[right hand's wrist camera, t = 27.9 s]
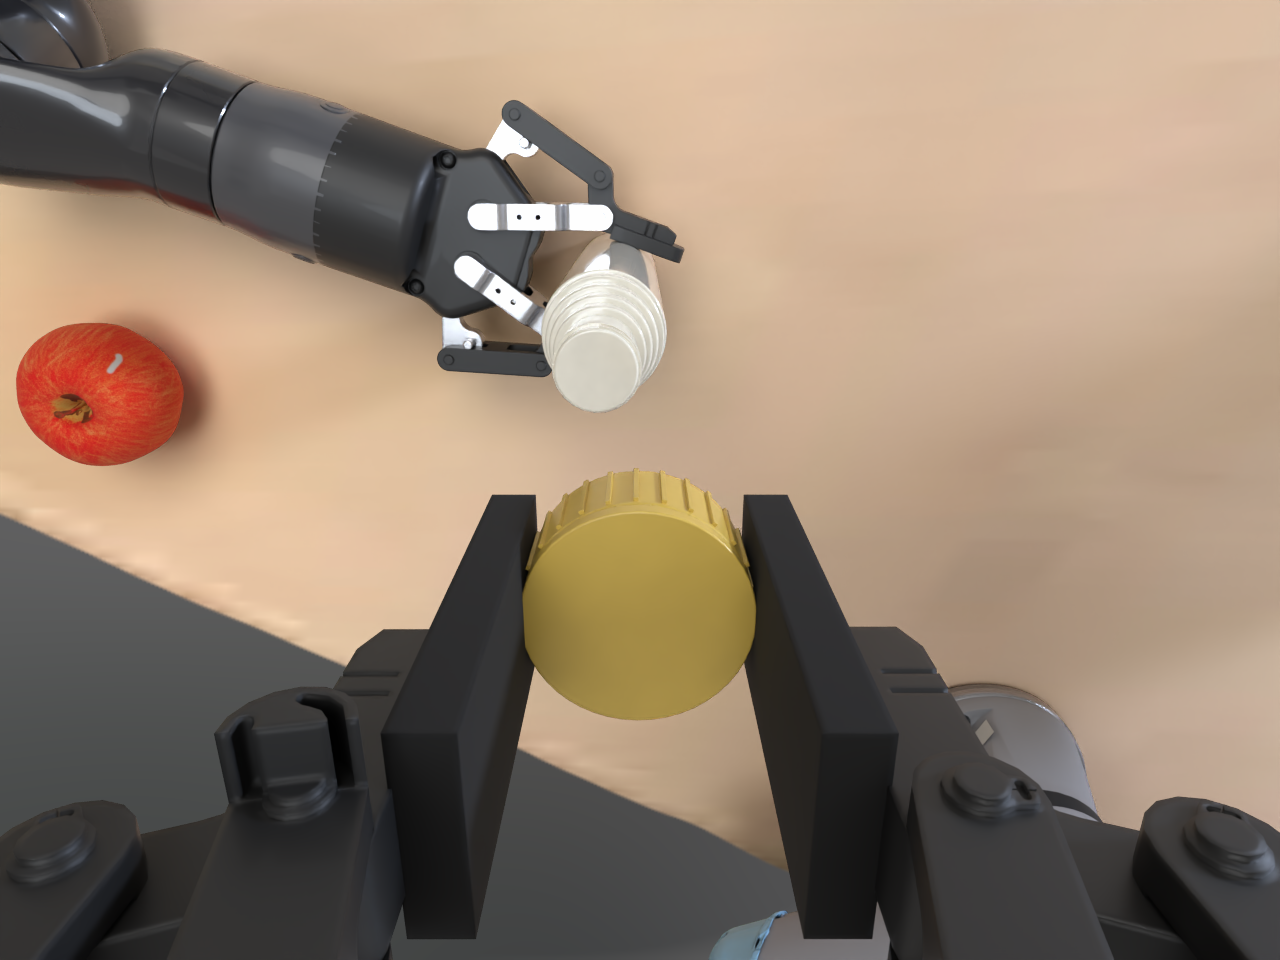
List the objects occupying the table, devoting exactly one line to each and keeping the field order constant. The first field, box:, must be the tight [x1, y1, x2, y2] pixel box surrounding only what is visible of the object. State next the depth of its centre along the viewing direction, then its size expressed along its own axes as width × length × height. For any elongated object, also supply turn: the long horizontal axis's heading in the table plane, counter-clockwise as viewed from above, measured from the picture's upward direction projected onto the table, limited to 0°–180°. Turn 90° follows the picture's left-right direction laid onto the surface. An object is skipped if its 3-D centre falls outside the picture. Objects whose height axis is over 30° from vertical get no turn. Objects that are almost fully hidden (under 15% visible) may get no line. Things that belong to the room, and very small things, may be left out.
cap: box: [522, 468, 756, 720], centre depth 14 cm, size 4×4×2 cm
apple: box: [16, 323, 184, 466], centre depth 46 cm, size 8×8×8 cm
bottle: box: [541, 233, 667, 413], centre depth 36 cm, size 5×5×25 cm
